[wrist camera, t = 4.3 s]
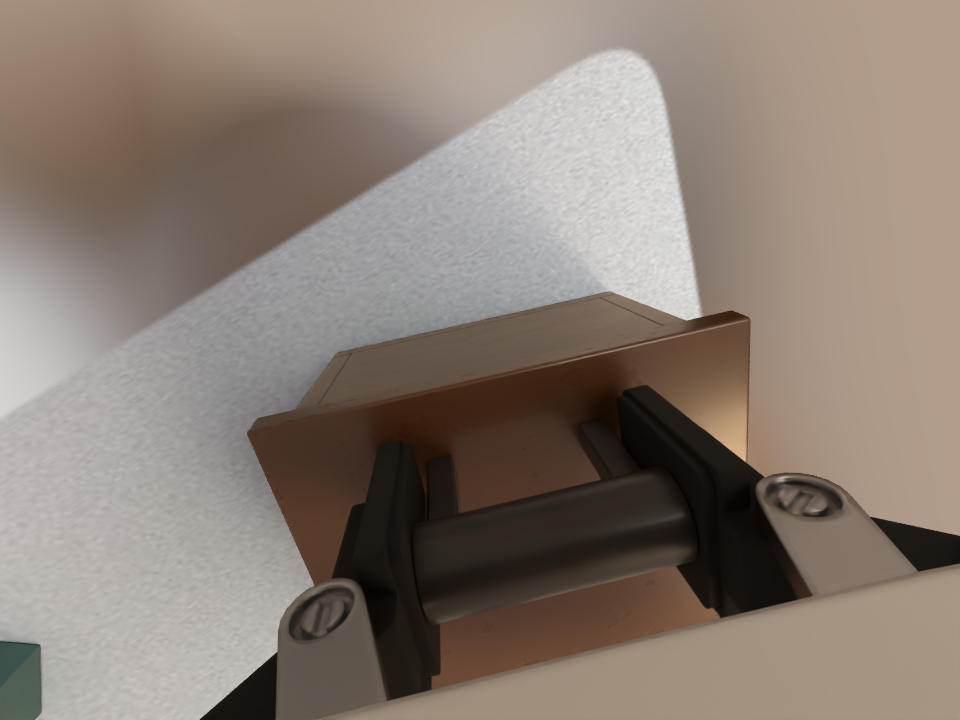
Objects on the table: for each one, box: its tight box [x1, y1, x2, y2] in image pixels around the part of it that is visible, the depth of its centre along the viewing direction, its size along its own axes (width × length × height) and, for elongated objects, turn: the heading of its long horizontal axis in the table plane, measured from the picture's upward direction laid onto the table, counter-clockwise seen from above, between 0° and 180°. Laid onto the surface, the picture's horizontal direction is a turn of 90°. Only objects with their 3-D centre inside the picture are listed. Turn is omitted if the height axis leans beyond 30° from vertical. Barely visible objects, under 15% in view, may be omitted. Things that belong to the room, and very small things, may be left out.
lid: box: [247, 311, 750, 690], centre depth 12 cm, size 14×13×5 cm
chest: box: [295, 292, 686, 410], centre depth 19 cm, size 14×13×8 cm
